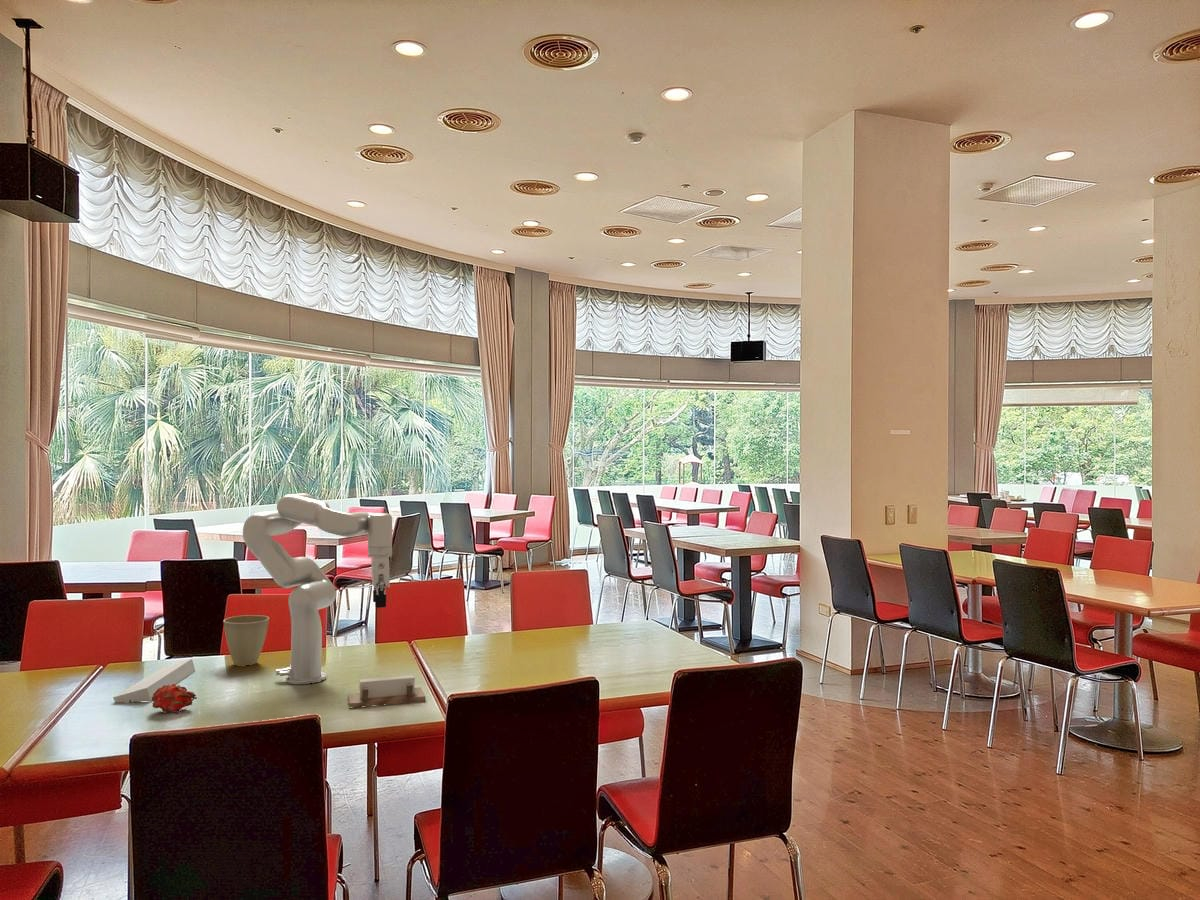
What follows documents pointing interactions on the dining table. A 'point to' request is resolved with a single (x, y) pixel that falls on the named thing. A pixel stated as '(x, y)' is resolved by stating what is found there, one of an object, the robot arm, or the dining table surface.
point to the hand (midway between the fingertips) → (379, 604)
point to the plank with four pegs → (386, 698)
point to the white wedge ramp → (156, 682)
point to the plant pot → (245, 637)
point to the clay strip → (386, 686)
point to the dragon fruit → (172, 698)
